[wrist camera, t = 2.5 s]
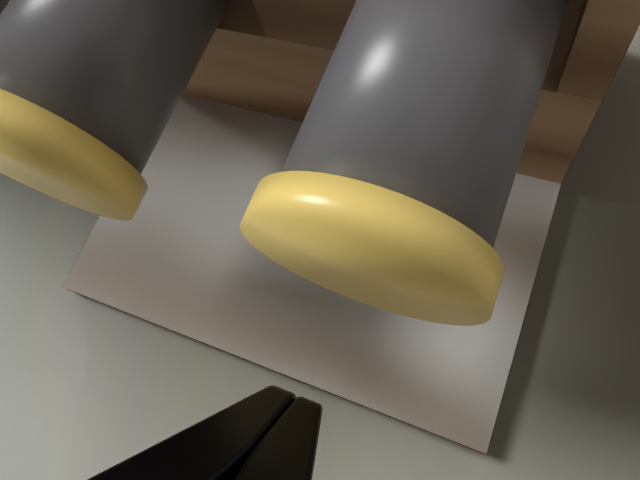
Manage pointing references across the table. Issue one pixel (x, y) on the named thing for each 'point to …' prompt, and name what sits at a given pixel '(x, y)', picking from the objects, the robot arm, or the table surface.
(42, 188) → the knob left
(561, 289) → the table surface
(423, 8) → the knob right
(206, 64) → the console
